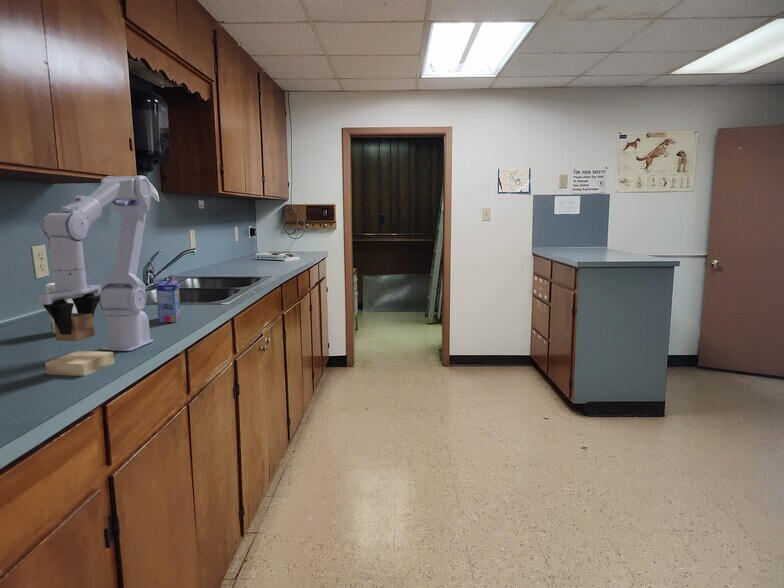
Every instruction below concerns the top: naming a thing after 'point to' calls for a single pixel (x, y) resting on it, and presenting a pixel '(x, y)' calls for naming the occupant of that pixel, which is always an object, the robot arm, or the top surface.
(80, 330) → the walnut cube
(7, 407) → the top surface
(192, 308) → the top surface
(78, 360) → the maple block
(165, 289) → the ink cartridge box
